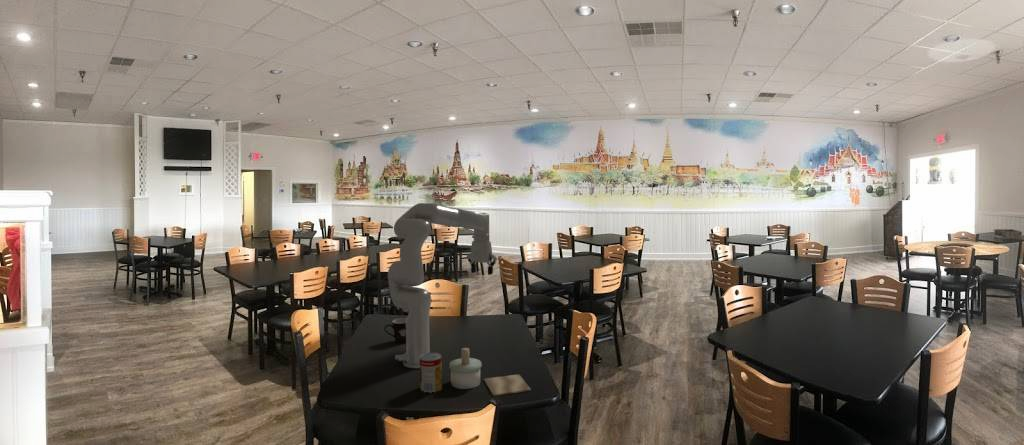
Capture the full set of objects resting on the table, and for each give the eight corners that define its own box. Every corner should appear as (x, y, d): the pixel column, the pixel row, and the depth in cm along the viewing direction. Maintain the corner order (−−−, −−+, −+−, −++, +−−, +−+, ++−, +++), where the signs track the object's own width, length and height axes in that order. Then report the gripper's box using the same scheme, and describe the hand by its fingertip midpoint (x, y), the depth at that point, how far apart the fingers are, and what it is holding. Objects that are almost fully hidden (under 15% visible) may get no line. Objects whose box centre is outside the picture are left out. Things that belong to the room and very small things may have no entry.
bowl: (453, 390, 172) (453, 373, 171) (448, 378, 182) (448, 362, 181) (483, 386, 175) (483, 370, 174) (476, 375, 185) (476, 359, 185)
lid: (452, 374, 170) (452, 356, 170) (447, 362, 182) (446, 345, 181) (484, 370, 174) (484, 353, 173) (477, 358, 185) (477, 342, 185)
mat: (493, 396, 167) (493, 394, 167) (483, 380, 180) (483, 378, 180) (530, 390, 171) (530, 389, 171) (519, 375, 184) (519, 374, 184)
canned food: (443, 383, 178) (442, 352, 177) (440, 392, 170) (440, 360, 169) (422, 383, 177) (421, 352, 176) (418, 393, 170) (417, 360, 169)
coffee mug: (413, 338, 228) (413, 318, 228) (408, 344, 220) (407, 323, 219) (390, 338, 230) (389, 317, 229) (383, 344, 221) (383, 323, 220)
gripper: (462, 238, 231) (462, 273, 232) (492, 240, 222) (492, 276, 223) (471, 236, 237) (471, 270, 238) (500, 238, 228) (501, 273, 230)
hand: (481, 273), depth 231 cm, fingers open, 9 cm apart
